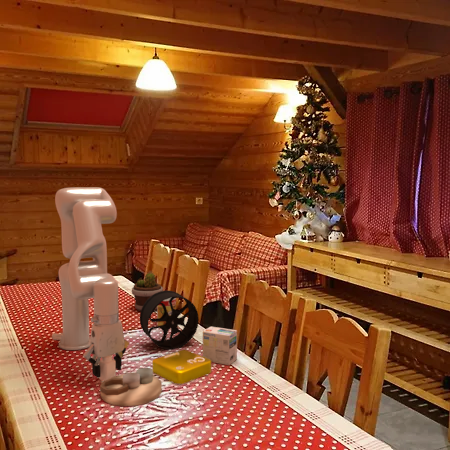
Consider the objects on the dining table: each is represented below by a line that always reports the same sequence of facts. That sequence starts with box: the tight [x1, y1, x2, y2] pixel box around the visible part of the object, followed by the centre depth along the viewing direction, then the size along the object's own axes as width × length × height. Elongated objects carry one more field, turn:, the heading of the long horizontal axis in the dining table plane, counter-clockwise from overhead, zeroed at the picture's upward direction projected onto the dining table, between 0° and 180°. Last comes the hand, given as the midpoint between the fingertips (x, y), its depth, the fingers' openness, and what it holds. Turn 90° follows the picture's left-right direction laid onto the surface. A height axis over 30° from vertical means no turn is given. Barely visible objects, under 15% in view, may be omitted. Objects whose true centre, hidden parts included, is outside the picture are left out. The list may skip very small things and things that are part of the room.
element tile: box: [151, 349, 212, 385], centre depth 165 cm, size 15×15×5 cm
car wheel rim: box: [139, 290, 200, 350], centre depth 188 cm, size 20×10×20 cm, turn 116°
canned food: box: [156, 298, 177, 326], centre depth 211 cm, size 8×8×12 cm
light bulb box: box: [202, 326, 238, 366], centre depth 174 cm, size 11×7×11 cm, turn 65°
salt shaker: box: [98, 354, 117, 382], centre depth 158 cm, size 4×4×10 cm
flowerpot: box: [131, 269, 164, 312], centre depth 235 cm, size 14×15×20 cm
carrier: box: [99, 367, 163, 407], centre depth 149 cm, size 18×18×5 cm
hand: (107, 372), depth 158 cm, fingers open, 7 cm apart
